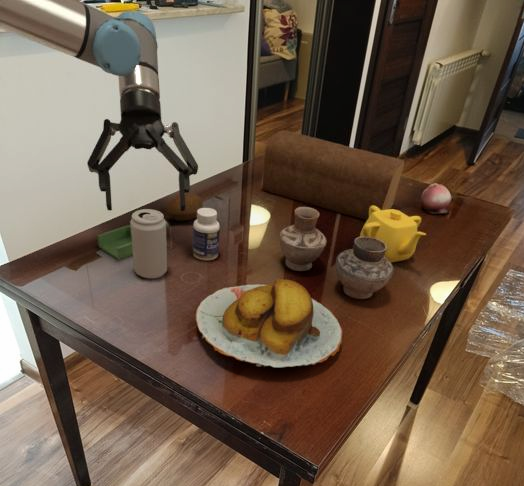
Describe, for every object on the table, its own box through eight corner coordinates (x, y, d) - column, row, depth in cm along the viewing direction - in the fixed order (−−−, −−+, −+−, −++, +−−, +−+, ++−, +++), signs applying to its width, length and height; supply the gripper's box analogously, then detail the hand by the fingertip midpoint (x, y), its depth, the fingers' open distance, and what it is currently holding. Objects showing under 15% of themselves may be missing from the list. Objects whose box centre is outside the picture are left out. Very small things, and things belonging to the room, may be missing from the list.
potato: (209, 217, 116) (210, 192, 112) (182, 230, 110) (182, 204, 106) (188, 208, 119) (188, 183, 115) (161, 221, 112) (160, 195, 108)
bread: (280, 175, 141) (286, 124, 132) (392, 207, 132) (408, 154, 123) (259, 190, 131) (264, 136, 122) (379, 226, 122) (394, 170, 113)
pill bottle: (208, 264, 100) (210, 220, 94) (187, 255, 102) (187, 212, 95) (223, 254, 104) (225, 211, 97) (202, 246, 105) (203, 203, 99)
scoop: (119, 260, 98) (118, 248, 96) (98, 246, 101) (97, 235, 99) (178, 236, 108) (178, 226, 106) (157, 225, 111) (157, 214, 109)
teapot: (419, 250, 114) (433, 208, 108) (412, 275, 105) (427, 231, 98) (362, 235, 117) (373, 194, 111) (351, 258, 108) (361, 215, 101)
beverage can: (149, 260, 99) (145, 204, 91) (174, 270, 97) (172, 214, 89) (127, 272, 95) (121, 215, 87) (152, 284, 92) (149, 226, 85)
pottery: (292, 247, 109) (300, 196, 101) (394, 291, 99) (411, 238, 92) (263, 266, 102) (270, 212, 94) (370, 315, 92) (387, 260, 84)
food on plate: (171, 311, 87) (170, 280, 82) (283, 279, 98) (287, 251, 94) (247, 402, 71) (250, 370, 67) (368, 352, 83) (378, 322, 79)
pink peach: (427, 202, 137) (435, 177, 133) (451, 212, 133) (461, 186, 129) (412, 208, 132) (421, 183, 128) (437, 219, 129) (447, 193, 124)
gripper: (203, 113, 99) (210, 215, 98) (74, 107, 93) (79, 214, 92) (207, 91, 91) (214, 201, 90) (67, 83, 86) (73, 200, 85)
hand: (146, 208), depth 91 cm, fingers open, 13 cm apart
